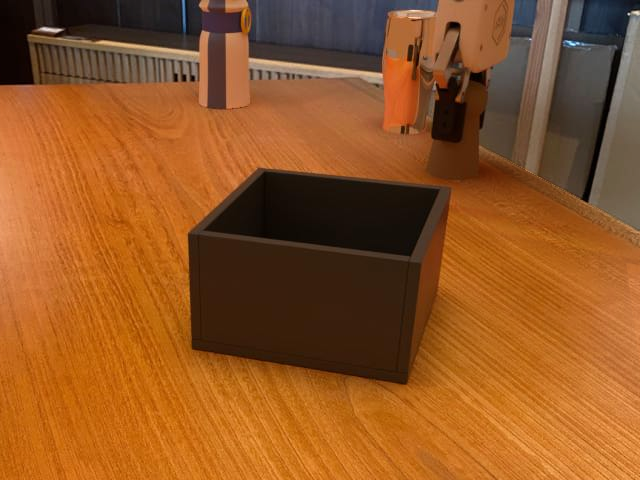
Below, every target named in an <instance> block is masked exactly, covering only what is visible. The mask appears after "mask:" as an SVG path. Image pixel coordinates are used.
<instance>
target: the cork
mask: <svg viewBox="0 0 640 480" xmlns="http://www.w3.org/2000/svg"><path fill="white" fill-rule="evenodd" d="M459 80H460V79H456V81H457V84H458V85H459ZM487 91H488V90H486V87H485V86H484V85H483V84H481V83H479V82H475V81H470V80H469V81H468V85H467V89H466V94H465V98H464V101H463V102H467V108H466V116H465V123H464V130H463V137H462V140H461V141H460V142H459V143H453V142H447V141H441V140H434V139H432V143H431V147H430V152H429V155H428V159H427V162H426V166H425V172H426V173H427V174H428V175H430V176H432V177H435V178H438V179H442V180H443V179H444V180H451V181H452V180H453V181H455V180H456V181H457V180H458V181H461V180H470V179H474V178H476V177H477V176H478V175H479V172H480V171H479V168H480V130H479V124H480V115H481V114H482V112H483V111H484V110H485V108H486V109H487V105H488V101H489V91H488V92H487ZM485 111H486V110H485Z"/></svg>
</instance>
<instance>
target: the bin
mask: <svg viewBox="0 0 640 480" xmlns="http://www.w3.org/2000/svg"><path fill="white" fill-rule="evenodd" d="M452 190H453V188H452V186H446V185H435V184H427V183H426V184H425V183H415V182H408V181H407V182H406V181H398V180H397V181H396V180H387V179H386V180H385V179H377V178H368V177H367V178H366V177H359V176H357V177H356V176H345V175H338V174H327V173H316V172H307V171H298V170H297V171H296V170H287V169H278V168H267V167H266V168H265V167H257V168H256V169H255V170H254V171H253V172H252V173H251V174H250V175H249V176H248V177H246V178H245V179H244V180H243V181H242V182H241V183H240V184H239V185H238V186H237V187H236V188H235V189H234V190H233V191H232V192H230V193H229V194H228V195H227V196H226V197H225V198H224V199H223V200H222V201H221V202H219V203H218V205H216V206H215V207H214V208H213V209H212V210H211V211H210V212H209V213H208V214H206V215H205V217H203V218H202V220H200V221H199V222H198V223H197V224H196V225H195V226H194V227H193V228H191V229H190V230H189V231H188V232H187V250H188V251H187V255H188V276H189V278H188V281H189V282H188V283H189V306H190V307H189V309H190V310H189V311H190V338H191V339H190V340H191V341H190V342H191V349H194V350H200V351H206V352H211V353H218V354H224V355H230V356H236V357H240V358H241V357H242V358H247V359H248V358H249V359H253V360H254V359H255V360H261V361H266V362H271V363H272V362H273V363H278V364H284V365H290V366H295V367H303V368H308V369H314V370H320V371H327V372H332V373H339V374H345V375H351V376H356V377H363V378H368V379H375V380H380V381H385V382H393V383H398V384H405V385H407V384H408V381H409V378H410V376H411V372H412V370H413V367H414V364H415V360H416V357H417V354H418V351H419V348H420V345H421V342H422V339H423V336H424V332H425V330H426V327H427V324H428V321H429V319H430V315H431V312H432V310H433V306H434V303H435V300H436V298H437V294H438V291H439V284H440V276H441V270H442V261H443V254H444V249H445V248H444V246H445V242H446V241H445V240H446V233H447V226H448V219H449V212H450V205H451V198H452V197H451V195H452Z"/></svg>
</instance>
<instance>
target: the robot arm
mask: <svg viewBox="0 0 640 480" xmlns="http://www.w3.org/2000/svg"><path fill="white" fill-rule="evenodd" d="M515 2H516V0H438V3H437V10H436V12H437V15H436V22H435V29H434V38H433V48H432V62H433V64H434V65H435V66H434V68H433V76H434V79H435V83H434V86H435V92H434V108H433V115H432V125H431V134H430V138H431V139H432V140H433V139H434V140H441V141H447V142H453V143H459V142H460V141H461V140H462V137H463V130H464V123H465V116H466V108H467V102H463V101H464V98H465V94H466V89H467V85H468V81H469V80H470V81H475V82H479V83H481V84H483V85H484V86H485V87H486V90H487V92H488V93H489V91H488V90H489V89H490V86H491V79H492V77H491V75H492V71H493V69H494V66H496V65H498V64H501V62H503V61H504V60H506V58H507V56H508V54H509V50H510V44H511V35H512V26H513V20H514V12H515V11H514V10H515ZM455 63H457V64H461V67H453V64H455ZM455 76H457V77H459V79H458V80H459V85H458V84H457V81H456V80H457V78H456V77H455ZM486 109H487V107H486V108H485V110H484V111H483V112H482V114H481V115H480V124H479V131H480V130H482V129H483V128H484V122H485V116H486Z"/></svg>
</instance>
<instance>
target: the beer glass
mask: <svg viewBox="0 0 640 480" xmlns="http://www.w3.org/2000/svg"><path fill="white" fill-rule="evenodd" d="M436 15H437V11H434V10H425V9H400V10H399V9H397V10H391V11H388V12H387V18H386V25H385V30H384V37H383V44H382V56H381V58H382V59H381V60H382V61H381V62H382V63H381V64H382V65H381V66H382V67H381V68H382V71H381V72H382V84H383V95H384V97H383V98H384V115H383V121H382V125H381V130H383V131H385V132H388V133H392V134H398V135H415V134H421V133H425V132H427V117H428V109H429V105H430V100H431V96H432V93H433V89H434V86H435V83H436V82H435V79H434V76H433V68H434V66H435V65H434V64H433V62H432V48H433V38H434V29H435V22H436Z"/></svg>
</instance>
